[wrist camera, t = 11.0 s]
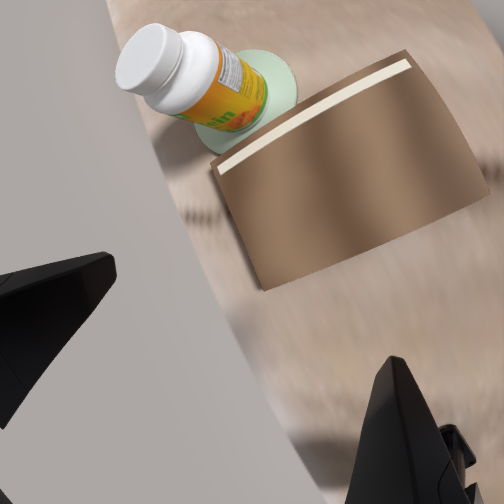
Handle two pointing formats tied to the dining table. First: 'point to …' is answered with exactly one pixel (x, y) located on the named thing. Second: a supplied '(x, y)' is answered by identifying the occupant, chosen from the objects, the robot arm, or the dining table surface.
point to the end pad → (280, 102)
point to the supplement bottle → (192, 79)
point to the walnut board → (347, 172)
